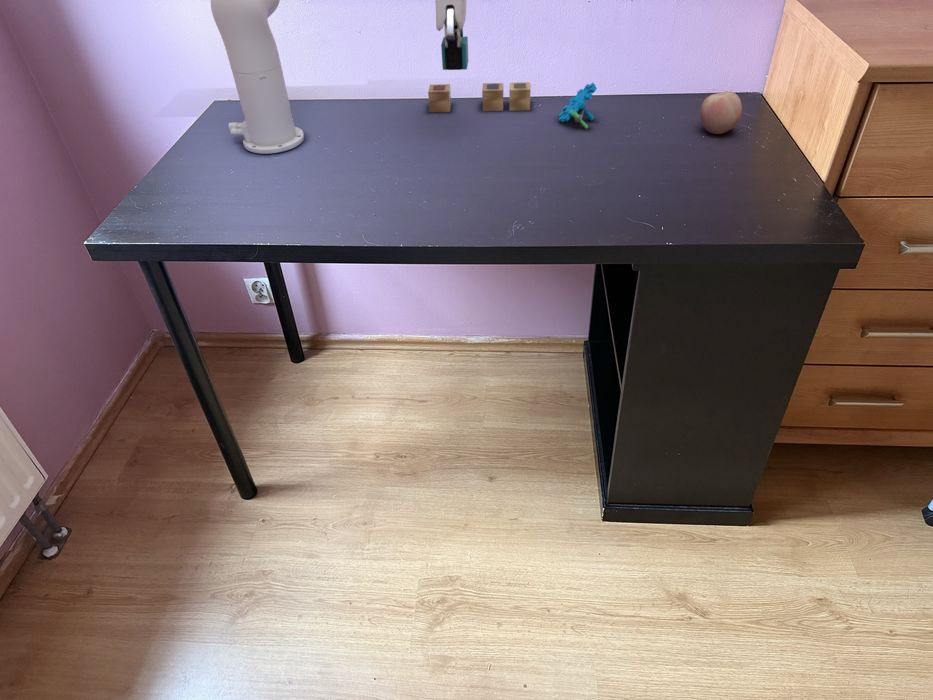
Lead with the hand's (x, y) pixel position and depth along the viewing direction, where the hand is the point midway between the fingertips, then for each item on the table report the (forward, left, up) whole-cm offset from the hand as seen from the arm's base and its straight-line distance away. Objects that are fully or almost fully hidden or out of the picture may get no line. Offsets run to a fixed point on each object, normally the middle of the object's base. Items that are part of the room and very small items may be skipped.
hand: (455, 63), depth 127 cm
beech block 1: (-5, +18, -15) cm, 24 cm away
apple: (+53, +2, -15) cm, 55 cm away
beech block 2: (+7, +18, -15) cm, 24 cm away
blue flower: (+25, +9, -15) cm, 30 cm away
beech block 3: (+13, +18, -15) cm, 27 cm away
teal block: (0, 0, 0) cm, 0 cm away
